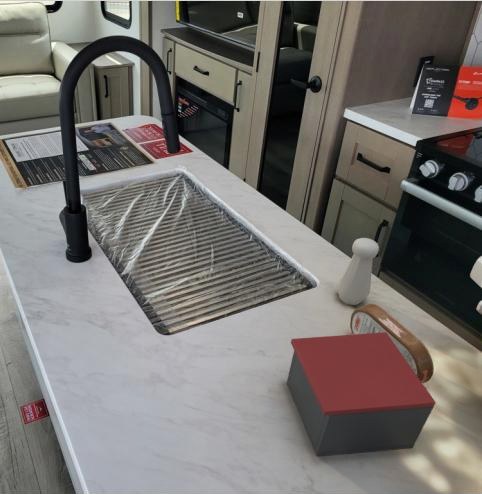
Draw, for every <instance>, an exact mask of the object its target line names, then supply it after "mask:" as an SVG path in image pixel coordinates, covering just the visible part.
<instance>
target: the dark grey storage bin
mask: <svg viewBox="0 0 482 494" xmlns="http://www.w3.org/2000/svg"><path fill="white" fill-rule="evenodd" d="M286 385H287V387H288V390H289V392H290V395H291V397H292V399H293V402H294V404H295V407H296V409H297V412H298V414H299V416H300V419H301V422H302V424H303V427H304V429H305V431H306V435H307V436H308V439H309V441H310V443H311V447H312V448H313V451H314V454H315V456H316V457H325V456H337V455H346V454H347V455H349V454H358V453H372V452H381V451H392V450H393V451H394V450H403V449H404V450H405V449H413V448H414V446H415V444H416V442H417V440H418V438H419V436H420V434H421V432H422V430H423V429H424V426H425V425H426V423H427V421H428V419H429V417H430V415H431V413H432V411H433V409H434V407H423V408H411V409H399V410H387V411H375V412H363V413H351V414H339V415H327V416H324V414H323V412H322V410H321V408H320V406H319V403H318V401H317V399H316V397H315V395H314V393H313V390H312V388H311V386H310V384H309V382H308V379H307V377H306V375H305V373H304V371H303V368H302V366H301V364H300V362H299V360H298V357H297V355H296V353H295V351H294V350H293V354H292V358H291V362H290V367H289V371H288V375H287V379H286Z"/></svg>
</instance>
